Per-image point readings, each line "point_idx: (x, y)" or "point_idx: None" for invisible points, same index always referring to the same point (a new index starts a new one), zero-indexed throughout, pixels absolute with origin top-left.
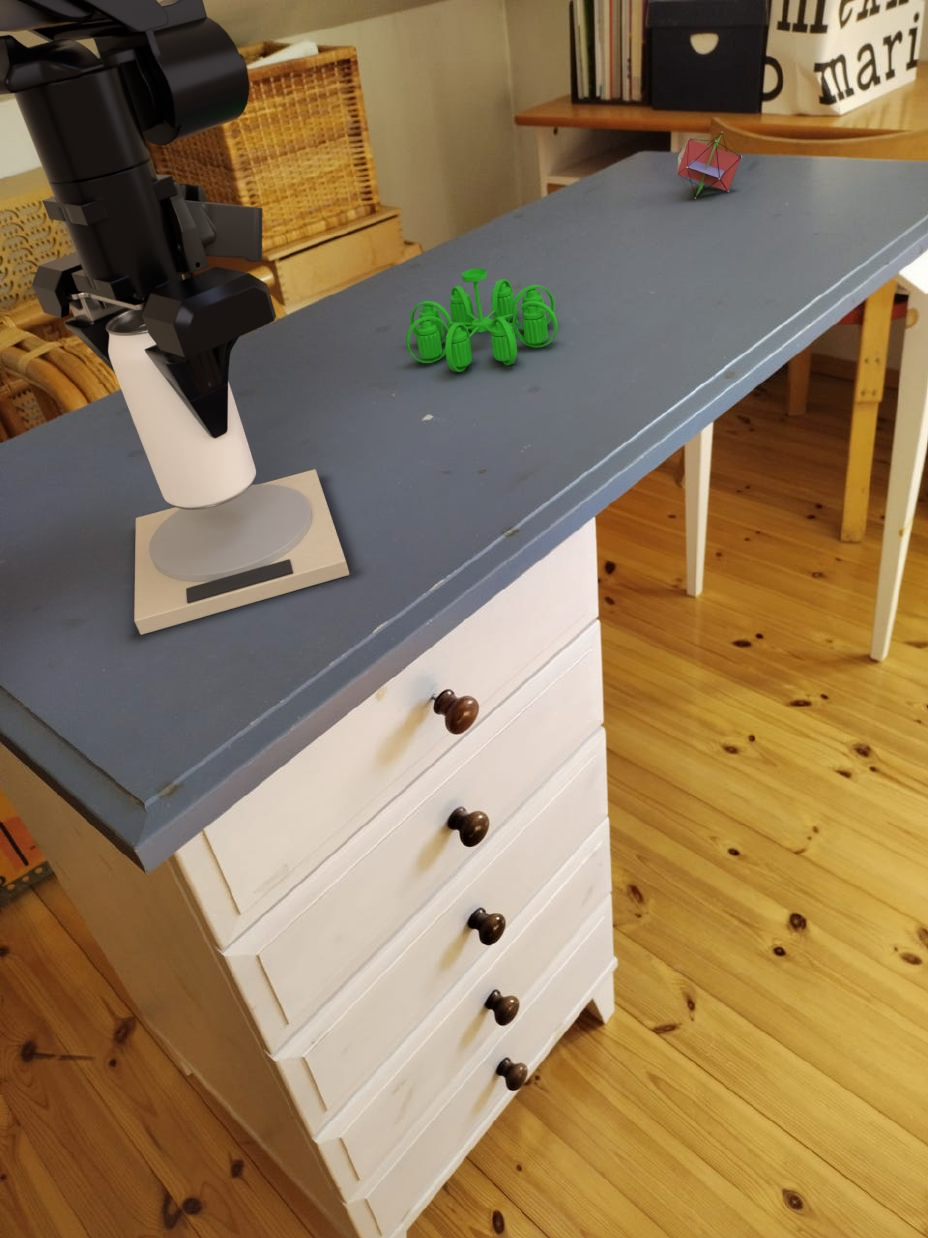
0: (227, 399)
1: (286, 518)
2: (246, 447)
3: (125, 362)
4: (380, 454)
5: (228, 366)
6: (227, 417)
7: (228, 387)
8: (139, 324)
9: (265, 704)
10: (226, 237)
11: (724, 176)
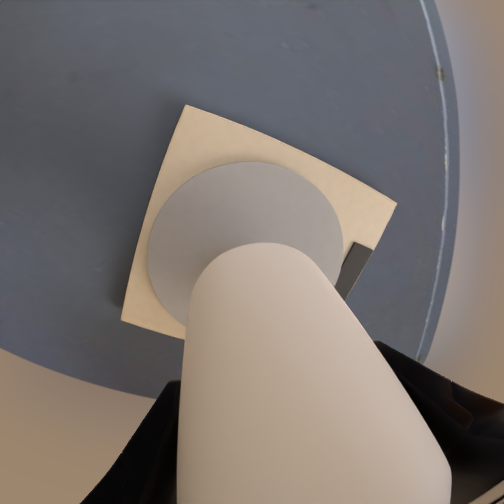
0: (426, 367)
1: (296, 209)
2: (325, 279)
3: None
4: (195, 18)
5: (482, 396)
6: (396, 351)
7: (373, 351)
8: None
9: (424, 311)
10: None
11: None
